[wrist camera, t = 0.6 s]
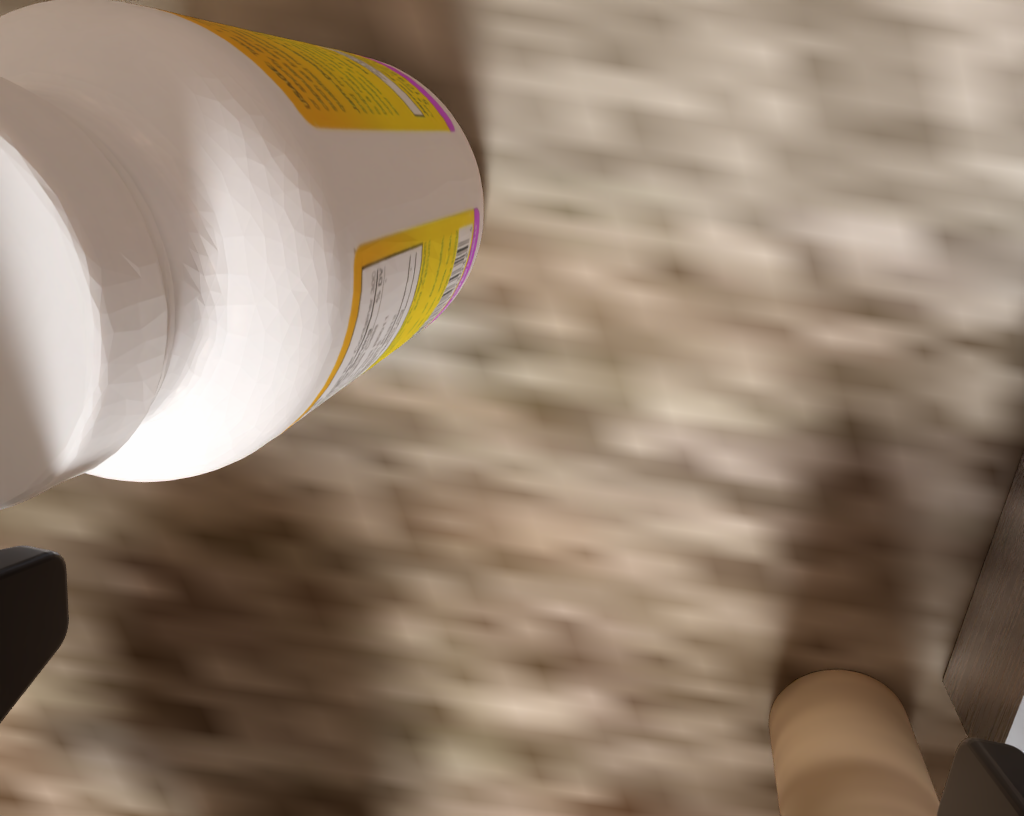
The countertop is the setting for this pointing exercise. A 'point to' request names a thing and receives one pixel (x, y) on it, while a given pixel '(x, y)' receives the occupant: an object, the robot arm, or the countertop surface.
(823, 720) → the dowel
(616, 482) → the countertop surface
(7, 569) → the robot arm
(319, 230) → the supplement bottle
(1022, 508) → the block
